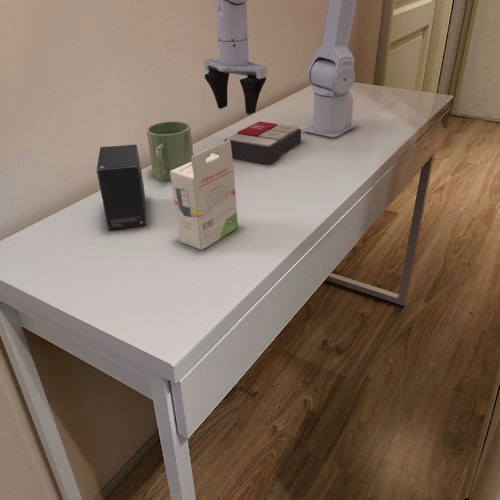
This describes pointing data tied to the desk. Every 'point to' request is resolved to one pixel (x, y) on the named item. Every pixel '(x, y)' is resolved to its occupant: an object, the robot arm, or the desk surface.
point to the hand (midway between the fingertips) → (236, 110)
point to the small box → (121, 186)
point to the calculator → (264, 142)
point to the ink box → (205, 196)
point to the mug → (169, 147)
